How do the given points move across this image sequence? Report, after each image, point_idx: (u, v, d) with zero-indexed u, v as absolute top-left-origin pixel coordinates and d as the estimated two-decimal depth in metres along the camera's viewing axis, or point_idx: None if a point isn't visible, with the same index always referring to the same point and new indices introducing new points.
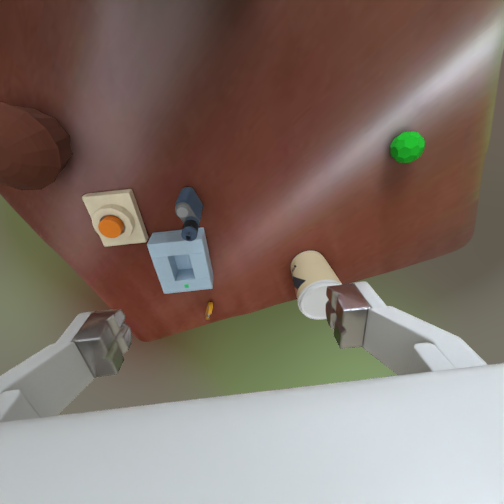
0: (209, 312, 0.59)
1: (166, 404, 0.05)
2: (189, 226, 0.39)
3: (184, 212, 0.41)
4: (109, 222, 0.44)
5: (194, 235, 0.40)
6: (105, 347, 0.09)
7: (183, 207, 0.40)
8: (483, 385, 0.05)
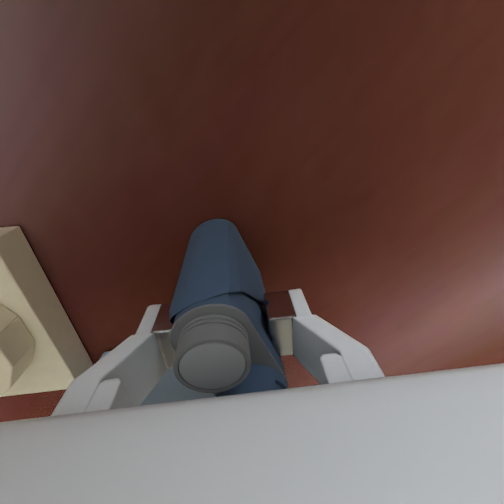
0: None
1: (166, 404, 0.05)
2: None
3: (225, 366, 0.07)
4: None
5: None
6: None
7: (221, 342, 0.06)
8: (483, 385, 0.05)
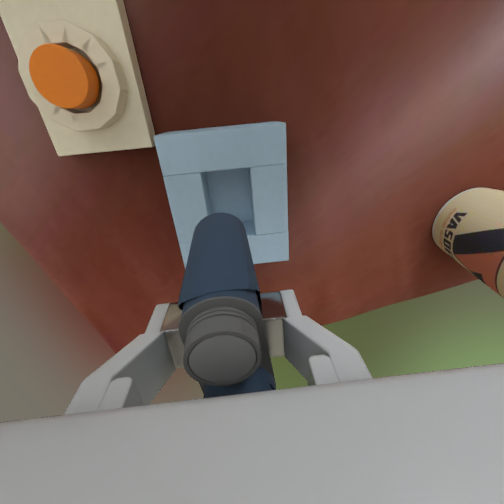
0: None
1: (166, 404, 0.05)
2: None
3: (235, 361, 0.07)
4: (58, 52, 0.17)
5: None
6: None
7: (241, 336, 0.06)
8: (483, 385, 0.05)
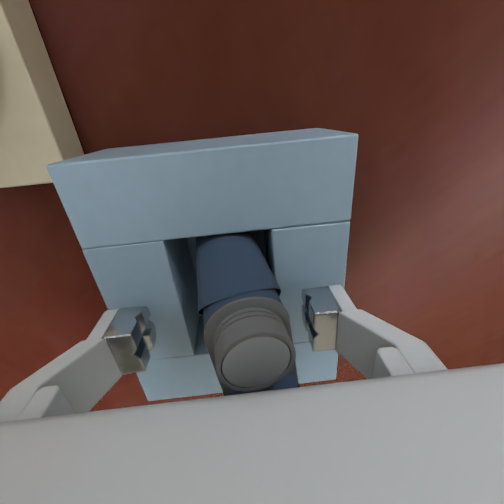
0: None
1: (166, 404, 0.05)
2: None
3: (269, 363, 0.06)
4: None
5: None
6: (135, 343, 0.09)
7: (276, 337, 0.06)
8: (483, 385, 0.05)
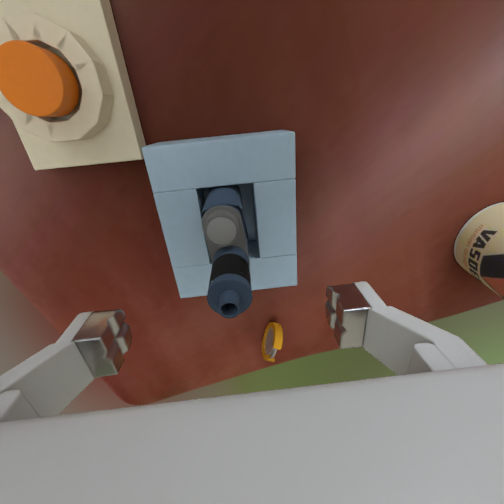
0: (277, 345, 0.27)
1: (166, 404, 0.05)
2: (237, 275, 0.14)
3: (226, 232, 0.15)
4: (27, 50, 0.14)
5: (244, 303, 0.14)
6: (105, 347, 0.09)
7: (229, 219, 0.15)
8: (483, 385, 0.05)
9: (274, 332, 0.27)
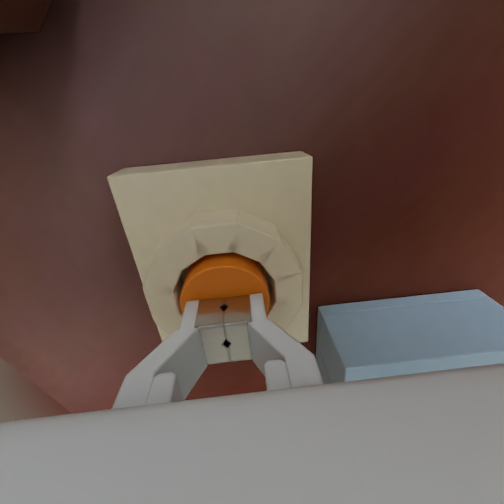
0: None
1: (166, 404, 0.05)
2: None
3: None
4: (235, 276, 0.10)
5: None
6: (225, 334, 0.09)
7: None
8: (483, 385, 0.05)
9: None
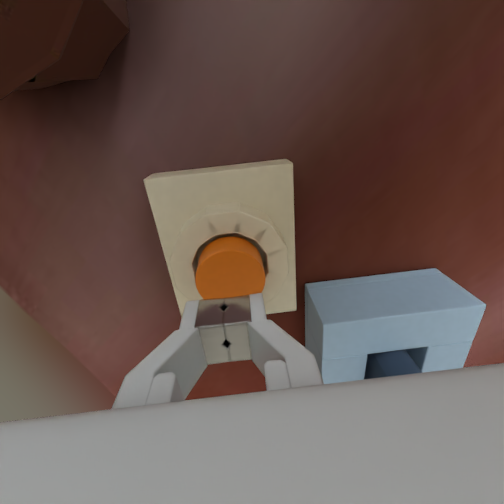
0: None
1: (166, 404, 0.05)
2: None
3: None
4: (238, 258, 0.13)
5: None
6: (224, 333, 0.09)
7: None
8: (483, 385, 0.05)
9: None
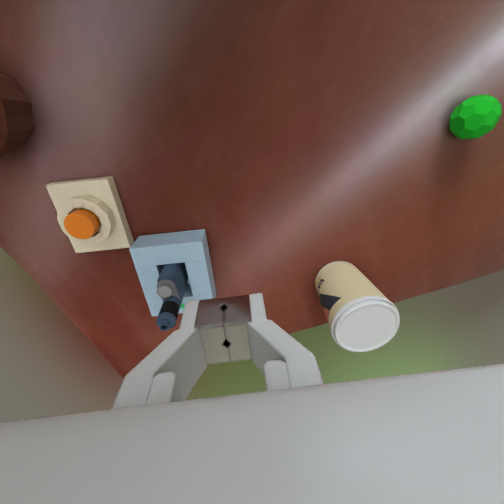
0: None
1: (166, 404, 0.05)
2: (169, 312, 0.33)
3: (167, 292, 0.34)
4: (79, 216, 0.33)
5: (172, 324, 0.33)
6: (224, 333, 0.09)
7: (167, 286, 0.34)
8: (483, 385, 0.05)
9: None
